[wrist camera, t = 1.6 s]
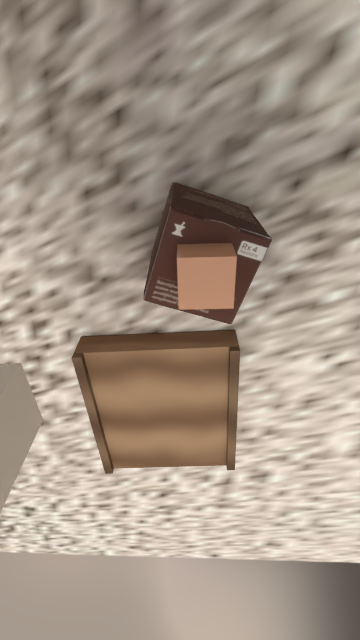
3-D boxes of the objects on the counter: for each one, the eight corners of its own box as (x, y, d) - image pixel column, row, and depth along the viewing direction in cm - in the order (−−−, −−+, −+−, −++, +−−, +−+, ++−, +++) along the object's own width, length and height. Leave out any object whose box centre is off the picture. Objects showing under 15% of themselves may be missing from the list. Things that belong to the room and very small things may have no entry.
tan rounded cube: (177, 244, 18) (176, 257, 17) (232, 243, 18) (236, 256, 17) (178, 292, 20) (178, 309, 18) (229, 291, 20) (233, 308, 18)
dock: (81, 336, 31) (71, 357, 28) (235, 329, 30) (239, 350, 27) (110, 449, 39) (105, 473, 36) (231, 445, 39) (234, 469, 36)
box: (149, 256, 27) (139, 301, 20) (172, 179, 24) (168, 203, 17) (221, 278, 28) (232, 327, 21) (251, 207, 24) (274, 239, 18)
